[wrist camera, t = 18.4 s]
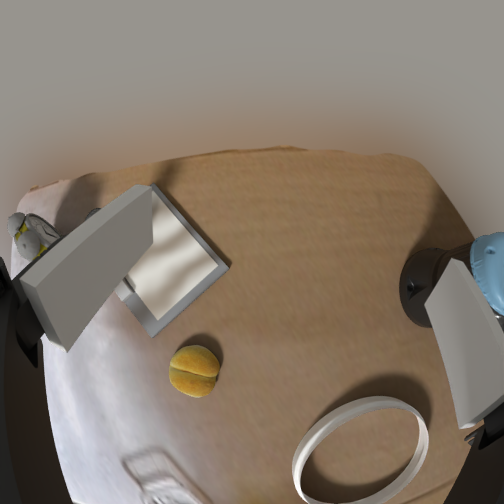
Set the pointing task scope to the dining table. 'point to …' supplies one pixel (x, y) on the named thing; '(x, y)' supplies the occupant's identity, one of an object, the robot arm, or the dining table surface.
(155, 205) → the clipboard
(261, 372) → the dining table surface
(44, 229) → the alarm clock
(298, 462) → the white hollow ring
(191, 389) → the bread roll
